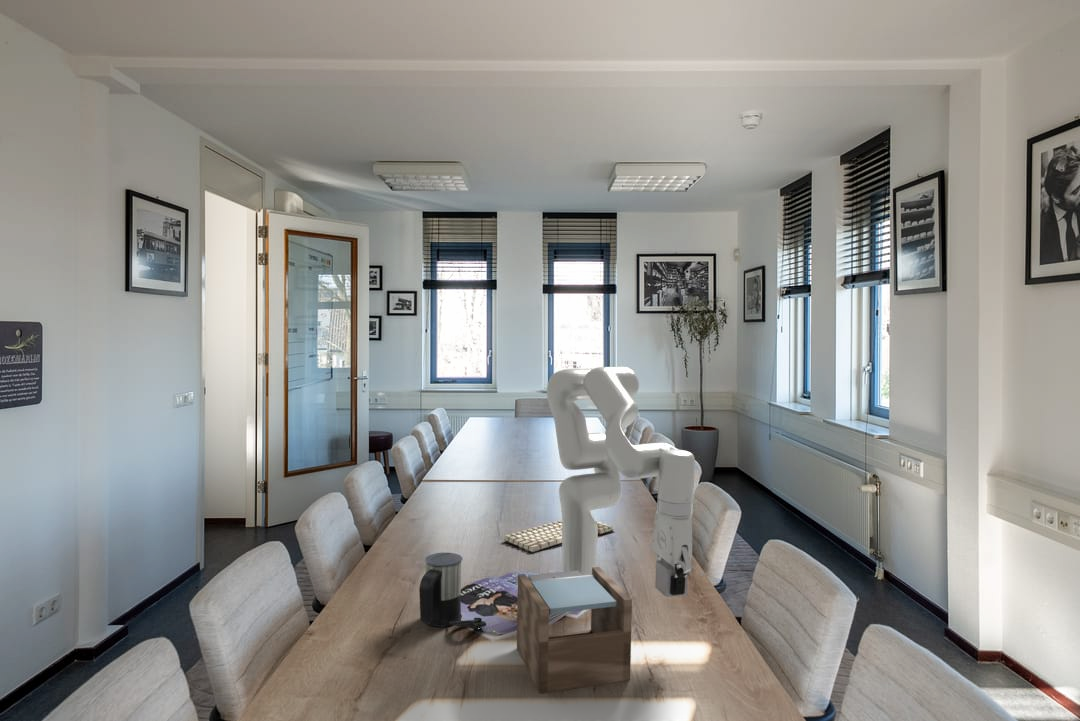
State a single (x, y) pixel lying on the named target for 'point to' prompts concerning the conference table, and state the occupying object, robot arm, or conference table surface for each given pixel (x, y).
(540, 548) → the mechanical keyboard
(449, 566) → the milk frother
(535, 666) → the stand
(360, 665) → the conference table surface
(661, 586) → the grey cube-like block
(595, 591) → the trapdoor
